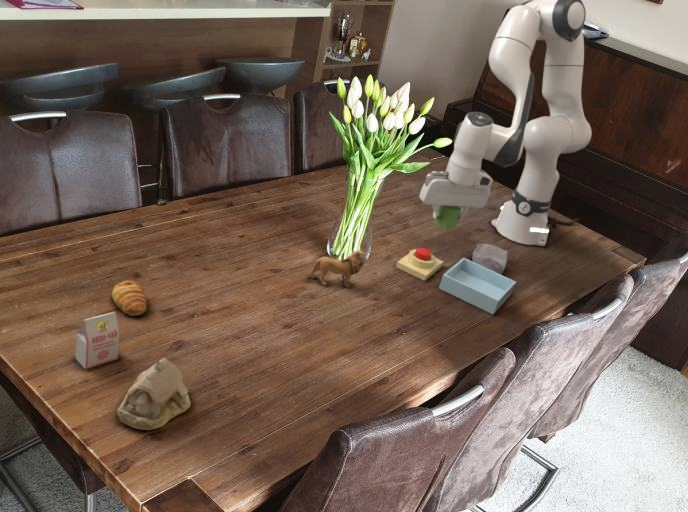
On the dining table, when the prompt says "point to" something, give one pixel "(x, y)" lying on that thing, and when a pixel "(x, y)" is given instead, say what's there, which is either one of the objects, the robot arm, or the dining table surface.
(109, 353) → the tea bag
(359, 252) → the lion figurine
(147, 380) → the ceramic model
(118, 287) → the pastry
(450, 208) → the green block
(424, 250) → the button
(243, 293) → the dining table surface
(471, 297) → the basin
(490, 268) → the stone block
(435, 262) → the button housing
